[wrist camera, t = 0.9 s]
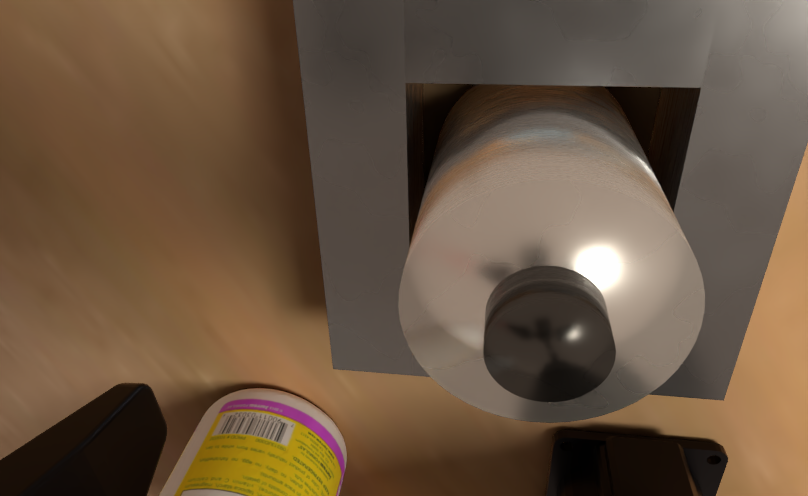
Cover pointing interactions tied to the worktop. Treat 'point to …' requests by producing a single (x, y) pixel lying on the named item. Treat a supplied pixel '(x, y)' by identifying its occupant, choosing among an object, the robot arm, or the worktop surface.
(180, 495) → the supplement bottle
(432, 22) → the frame
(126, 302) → the worktop surface
